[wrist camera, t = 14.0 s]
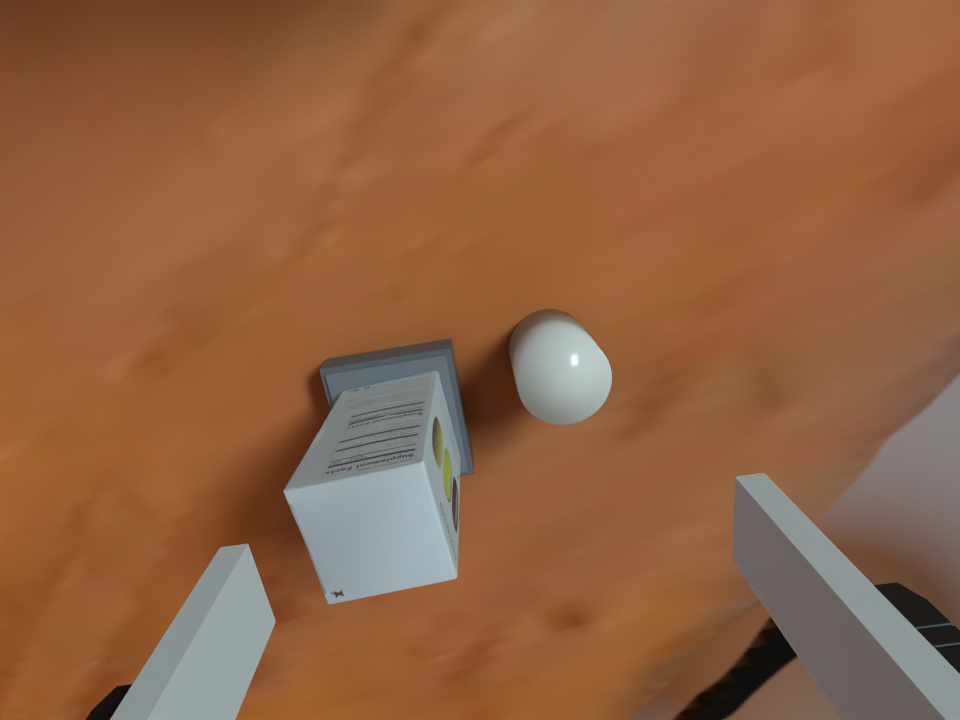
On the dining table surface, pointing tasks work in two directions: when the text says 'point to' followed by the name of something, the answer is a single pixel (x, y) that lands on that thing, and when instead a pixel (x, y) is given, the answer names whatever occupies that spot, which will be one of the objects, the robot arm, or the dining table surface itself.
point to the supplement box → (381, 491)
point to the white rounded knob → (558, 368)
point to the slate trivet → (398, 365)
